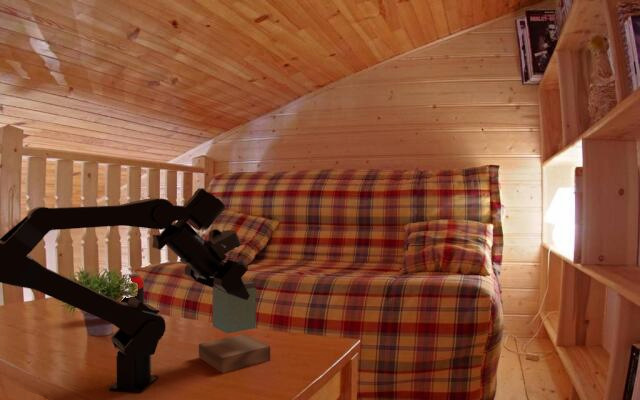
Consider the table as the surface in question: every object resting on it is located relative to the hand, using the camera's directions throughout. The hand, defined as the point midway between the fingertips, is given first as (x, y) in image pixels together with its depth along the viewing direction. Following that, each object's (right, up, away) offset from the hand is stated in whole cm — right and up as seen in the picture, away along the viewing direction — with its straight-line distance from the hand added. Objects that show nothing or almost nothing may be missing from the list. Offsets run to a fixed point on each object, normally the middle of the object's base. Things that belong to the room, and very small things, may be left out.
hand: (239, 295), depth 98 cm
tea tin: (-1, -7, -1) cm, 7 cm away
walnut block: (-1, -13, -1) cm, 13 cm away
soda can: (-37, -13, +32) cm, 50 cm away
